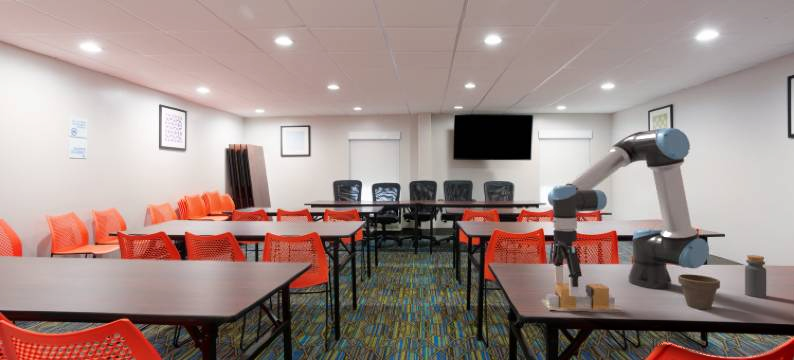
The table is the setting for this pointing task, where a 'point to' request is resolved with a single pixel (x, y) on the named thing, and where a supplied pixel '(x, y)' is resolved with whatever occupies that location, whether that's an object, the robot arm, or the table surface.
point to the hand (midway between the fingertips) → (566, 289)
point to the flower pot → (699, 290)
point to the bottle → (755, 277)
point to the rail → (586, 300)
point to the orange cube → (565, 295)
